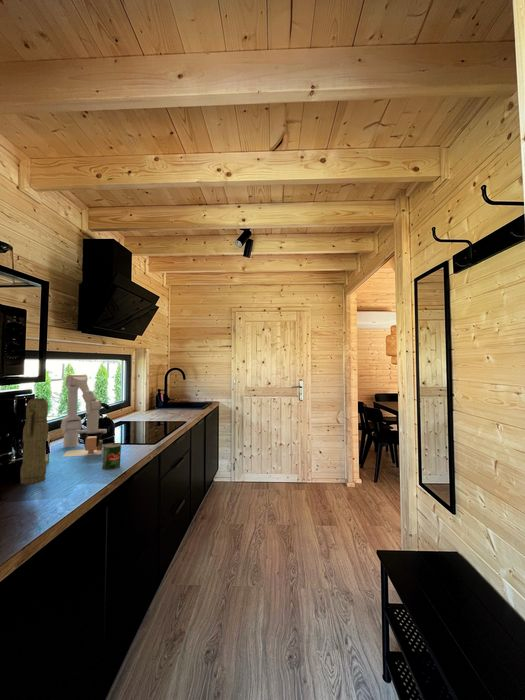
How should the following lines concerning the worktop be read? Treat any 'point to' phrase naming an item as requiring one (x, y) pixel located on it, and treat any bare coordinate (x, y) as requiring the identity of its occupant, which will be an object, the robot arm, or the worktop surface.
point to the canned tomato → (111, 456)
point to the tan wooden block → (90, 443)
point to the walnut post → (99, 445)
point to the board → (81, 452)
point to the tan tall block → (35, 442)
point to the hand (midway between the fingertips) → (91, 446)
